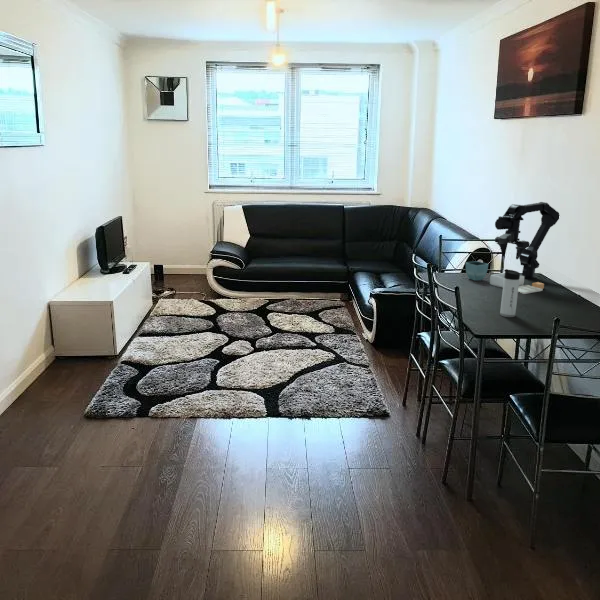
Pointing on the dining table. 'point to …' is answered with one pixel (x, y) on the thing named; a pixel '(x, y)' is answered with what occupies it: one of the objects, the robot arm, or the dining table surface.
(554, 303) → the dining table surface
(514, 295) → the travel mug
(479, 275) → the flower pot
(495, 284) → the white open box
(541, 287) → the lid
